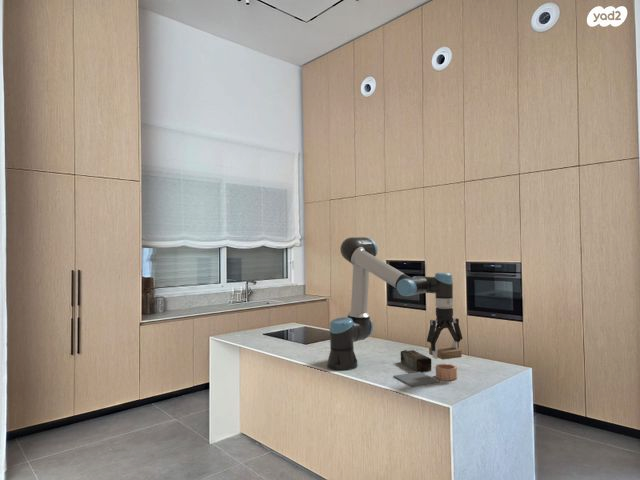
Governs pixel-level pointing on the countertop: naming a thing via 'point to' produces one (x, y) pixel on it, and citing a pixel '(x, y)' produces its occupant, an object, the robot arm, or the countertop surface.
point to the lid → (447, 352)
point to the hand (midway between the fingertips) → (445, 356)
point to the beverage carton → (416, 361)
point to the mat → (416, 379)
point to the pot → (446, 372)
